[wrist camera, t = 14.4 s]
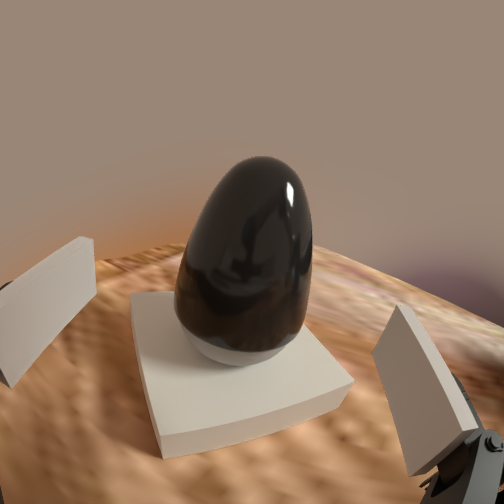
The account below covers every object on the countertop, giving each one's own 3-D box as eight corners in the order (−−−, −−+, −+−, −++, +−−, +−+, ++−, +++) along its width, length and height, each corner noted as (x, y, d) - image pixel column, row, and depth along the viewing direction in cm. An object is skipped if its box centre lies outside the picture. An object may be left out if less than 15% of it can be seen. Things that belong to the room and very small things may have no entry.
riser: (261, 312, 36) (268, 285, 34) (337, 408, 23) (355, 380, 21) (130, 323, 28) (129, 292, 27) (163, 459, 15) (160, 435, 14)
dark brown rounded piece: (294, 322, 28) (340, 170, 22) (281, 401, 18) (360, 187, 12) (198, 295, 29) (221, 143, 23) (150, 359, 20) (161, 143, 14)
